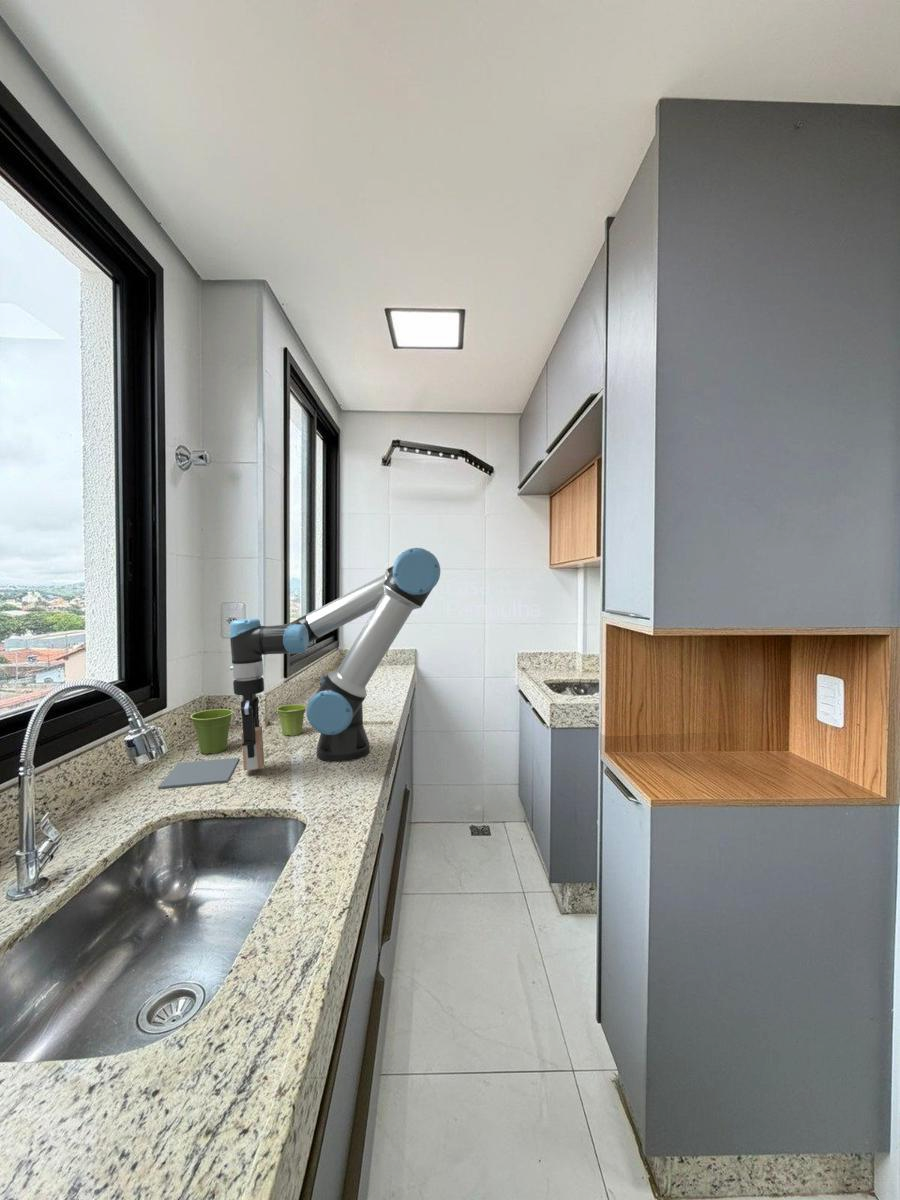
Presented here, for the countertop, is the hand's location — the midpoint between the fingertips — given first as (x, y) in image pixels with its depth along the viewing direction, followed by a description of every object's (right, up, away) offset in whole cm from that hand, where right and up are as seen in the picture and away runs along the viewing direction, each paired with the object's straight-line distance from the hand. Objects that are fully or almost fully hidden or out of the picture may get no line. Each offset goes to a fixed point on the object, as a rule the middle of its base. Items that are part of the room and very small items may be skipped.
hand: (253, 765), depth 145 cm
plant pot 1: (-19, -2, +20) cm, 27 cm away
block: (0, 0, 0) cm, 0 cm away
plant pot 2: (0, -1, +36) cm, 36 cm away
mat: (-14, -2, 0) cm, 14 cm away
